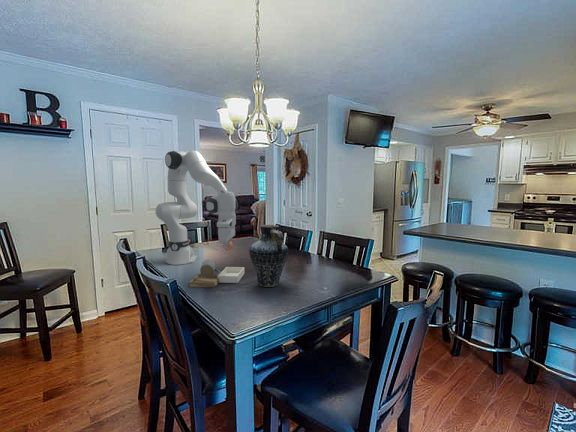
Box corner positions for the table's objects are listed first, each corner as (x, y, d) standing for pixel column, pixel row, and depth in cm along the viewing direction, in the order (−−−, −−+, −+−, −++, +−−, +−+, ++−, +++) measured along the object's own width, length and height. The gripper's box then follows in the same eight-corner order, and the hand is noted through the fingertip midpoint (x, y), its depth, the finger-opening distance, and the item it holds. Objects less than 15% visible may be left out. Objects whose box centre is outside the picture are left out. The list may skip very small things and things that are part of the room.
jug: (242, 284, 151) (240, 225, 148) (270, 275, 164) (270, 221, 161) (268, 294, 136) (268, 229, 133) (298, 284, 150) (298, 225, 146)
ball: (224, 249, 161) (224, 240, 160) (233, 249, 161) (233, 240, 160) (222, 251, 156) (221, 242, 155) (231, 251, 156) (231, 242, 155)
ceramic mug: (199, 277, 161) (199, 263, 160) (201, 273, 169) (201, 259, 168) (219, 277, 163) (219, 263, 162) (220, 272, 171) (220, 259, 170)
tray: (198, 278, 160) (198, 274, 159) (222, 279, 159) (222, 275, 158) (188, 286, 147) (188, 282, 146) (214, 287, 146) (214, 283, 146)
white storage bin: (226, 272, 169) (226, 267, 169) (244, 273, 169) (244, 267, 168) (217, 282, 153) (217, 275, 153) (237, 283, 152) (237, 276, 152)
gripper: (226, 219, 167) (227, 243, 169) (215, 224, 147) (216, 251, 148) (237, 219, 167) (238, 243, 168) (228, 224, 146) (228, 251, 148)
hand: (227, 247), depth 158 cm, fingers closed on ball, 5 cm apart
